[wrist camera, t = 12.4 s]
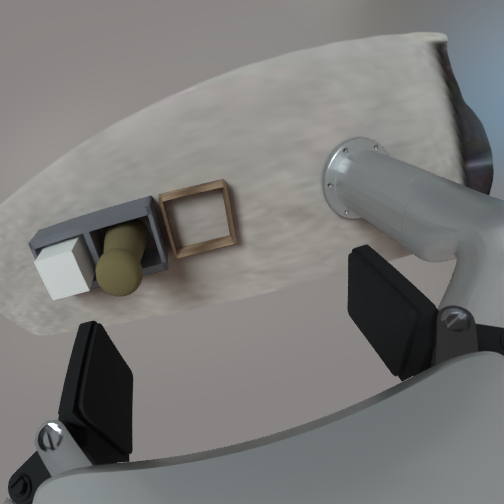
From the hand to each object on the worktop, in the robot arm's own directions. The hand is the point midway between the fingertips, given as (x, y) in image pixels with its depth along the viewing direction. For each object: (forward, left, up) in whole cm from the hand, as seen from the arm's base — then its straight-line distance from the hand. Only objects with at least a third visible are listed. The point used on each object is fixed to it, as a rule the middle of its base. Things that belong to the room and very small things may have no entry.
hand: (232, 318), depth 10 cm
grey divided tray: (+13, +8, -29) cm, 33 cm away
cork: (+9, +8, -29) cm, 32 cm away
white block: (+17, +8, -29) cm, 35 cm away
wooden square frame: (0, +8, -29) cm, 30 cm away
